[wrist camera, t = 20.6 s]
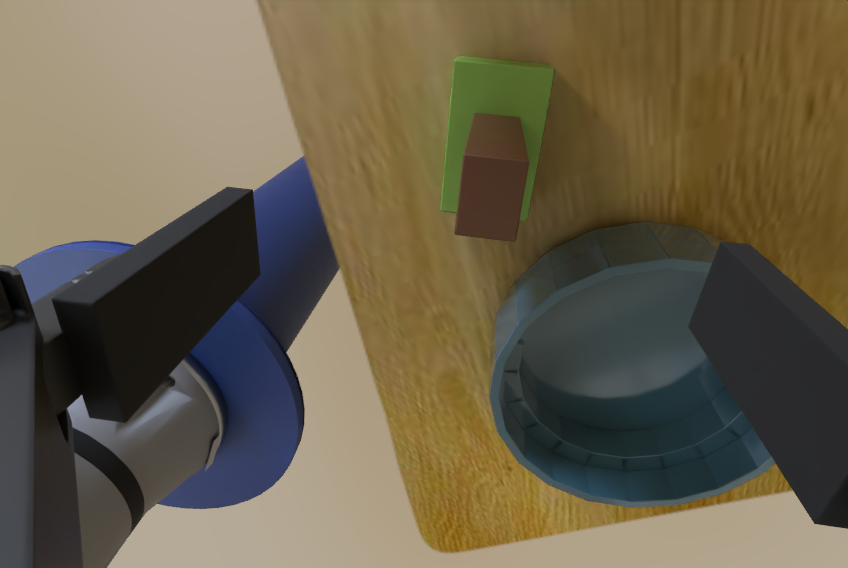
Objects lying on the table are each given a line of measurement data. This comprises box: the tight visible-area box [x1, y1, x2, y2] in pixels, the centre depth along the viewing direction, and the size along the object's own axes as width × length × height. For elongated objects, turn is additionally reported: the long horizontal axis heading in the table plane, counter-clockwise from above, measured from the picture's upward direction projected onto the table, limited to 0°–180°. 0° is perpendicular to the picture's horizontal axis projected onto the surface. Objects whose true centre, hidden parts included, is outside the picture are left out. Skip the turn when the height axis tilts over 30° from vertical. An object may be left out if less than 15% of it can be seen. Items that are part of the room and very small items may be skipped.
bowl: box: [489, 222, 776, 508], centre depth 32 cm, size 18×18×6 cm
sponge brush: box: [440, 56, 555, 242], centre depth 24 cm, size 8×5×12 cm, turn 176°
